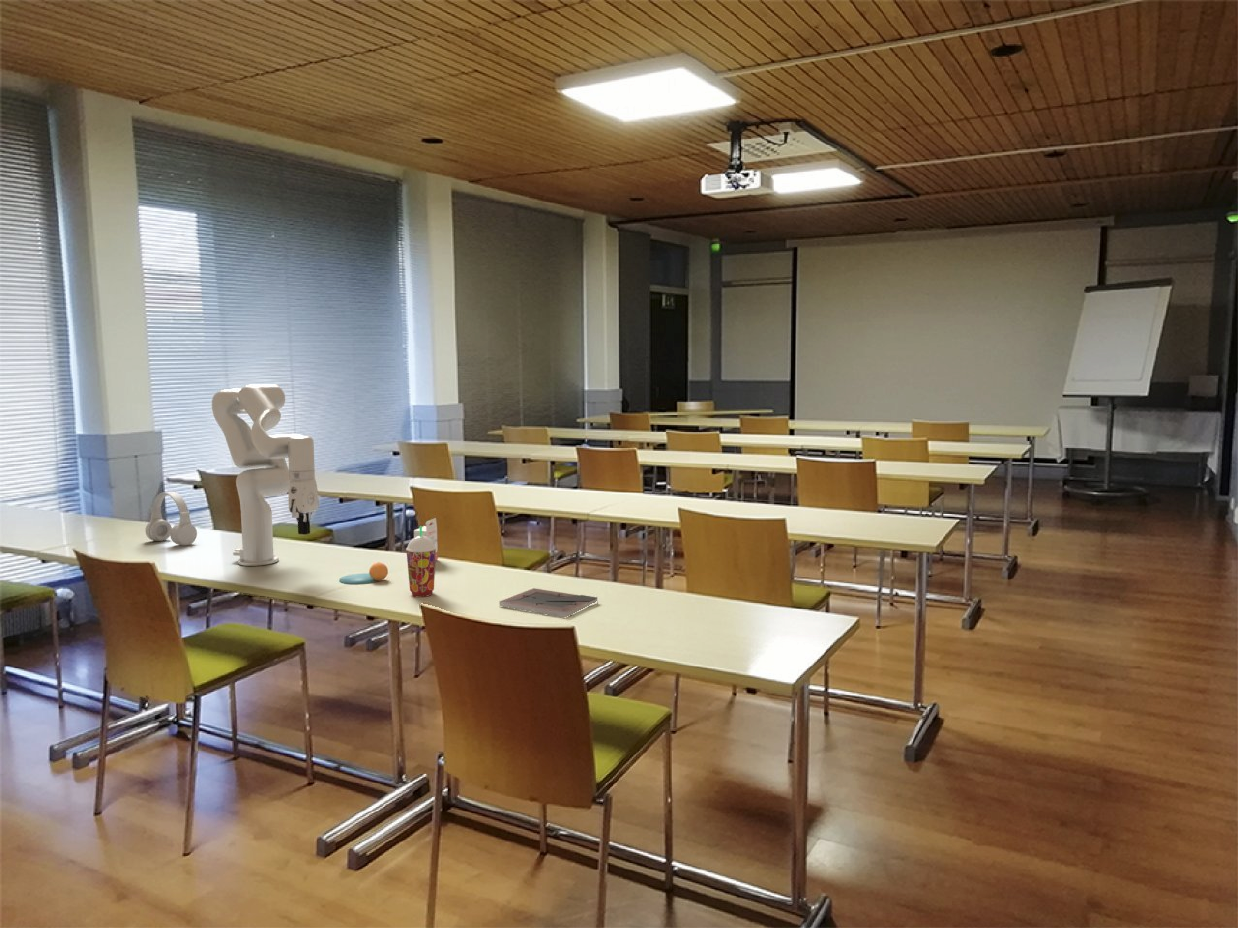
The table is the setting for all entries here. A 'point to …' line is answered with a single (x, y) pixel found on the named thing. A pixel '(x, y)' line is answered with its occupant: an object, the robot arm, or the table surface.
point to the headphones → (162, 529)
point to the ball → (378, 571)
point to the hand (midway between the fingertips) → (304, 533)
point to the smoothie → (421, 565)
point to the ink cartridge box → (429, 533)
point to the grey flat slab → (548, 602)
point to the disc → (357, 579)
